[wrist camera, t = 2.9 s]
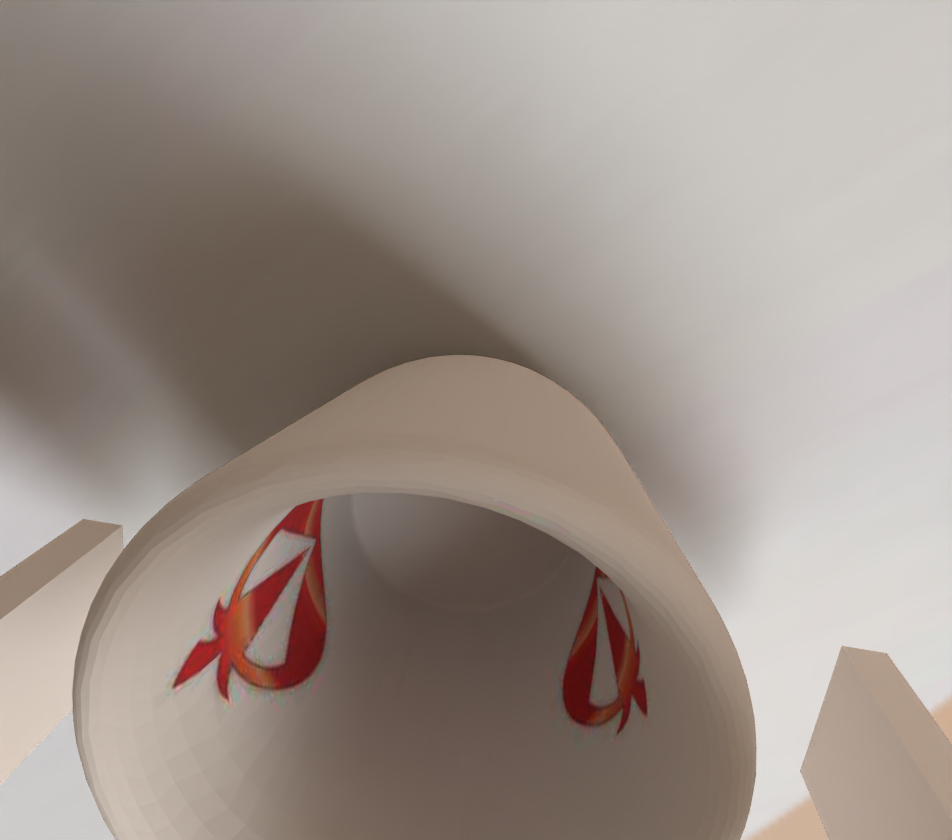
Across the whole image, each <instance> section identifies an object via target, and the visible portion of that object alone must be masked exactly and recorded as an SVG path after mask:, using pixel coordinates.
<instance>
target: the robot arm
mask: <svg viewBox="0 0 952 840" xmlns="http://www.w3.org/2000/svg"><path fill="white" fill-rule="evenodd" d="M122 551H123V526H122V525H116V524H110V523H104V522H98V521H92V520H86V519H83V520H81V521H80V522H78V523H77V524H75V525H74V526H73V527H71V528H70V529H68V530H67V531H65V532H64V533H62V534H61V535H60V536H58V537H57V538H55V539H54V540H52V541H51V542H49V543H48V544H47V545H45V546H44V547H42V548H41V549H39V550H38V551H36V552H35V553H33V554H32V555H31V556H29V557H28V558H26V559H25V560H23V561H22V562H20V563H19V564H18V565H16V566H15V567H13V568H12V569H10V570H9V571H7V572H6V573H5V574H3V575H2V576H0V785H1V784H2V783H3V782H4V781H5V780H6V779H7V778H8V777H9V776H10V775H11V773H12V772H13V771H14V770H15V769H16V768H17V767H18V766H19V765H20V764H21V763H22V762H23V761H24V760H25V758H26V757H27V756H28V755H29V754H30V753H31V752H32V751H33V750H34V749H35V748H36V747H37V746H38V745H39V744H40V742H41V741H42V740H43V739H44V738H45V737H46V736H47V735H48V734H49V733H50V732H51V731H52V730H53V729H54V728H55V726H56V725H57V724H58V723H59V722H60V721H61V720H62V719H63V718H64V717H65V716H66V715H67V714H68V713H69V712H70V710H71V709H72V708H73V701H72V689H73V678H74V666H75V658H76V654H77V649H78V645H79V641H80V636H81V632H82V629H83V626H84V623H85V620H86V618H87V615H88V612H89V609H90V606H91V603H92V601H93V599H94V597H95V595H96V594H97V592H98V590H99V588H100V586H101V584H102V582H103V580H104V578H105V576H106V574H107V573H108V571H109V570H110V568H111V567H112V565H113V564H114V562H115V561H116V559H117V558H118V557H119V555H120V554H121V552H122ZM800 772H801V774H802V776H803V779H804V781H805V784H806V786H807V788H808V791H809V793H810V795H811V798H812V800H813V802H814V805H815V807H816V810H817V812H818V814H819V816H820V819H821V821H822V824H823V826H824V828H825V831H826V833H827V836H828V838H829V840H952V744H951V742H950V741H949V739H948V738H947V737H946V735H945V734H944V732H943V731H942V730H941V728H940V727H939V726H938V724H937V723H936V721H935V720H934V718H933V717H932V716H931V714H930V713H929V712H928V710H927V709H926V707H925V706H924V705H923V703H922V702H921V700H920V699H919V698H918V696H917V695H916V693H915V692H914V691H913V689H912V688H911V686H910V685H909V684H908V682H907V681H906V680H905V678H904V677H903V675H902V674H901V673H900V671H899V670H898V668H897V667H896V666H895V664H894V663H893V661H892V660H891V659H890V657H889V656H888V654H887V653H881V652H875V651H869V650H863V649H857V648H851V647H845V646H842V647H841V650H840V653H839V656H838V659H837V662H836V665H835V668H834V671H833V674H832V677H831V680H830V683H829V686H828V689H827V692H826V695H825V698H824V701H823V704H822V707H821V710H820V713H819V716H818V719H817V722H816V725H815V728H814V731H813V734H812V737H811V740H810V743H809V746H808V749H807V752H806V755H805V758H804V761H803V764H802V767H801V770H800Z"/></svg>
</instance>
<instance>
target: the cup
mask: <svg viewBox="0 0 952 840" xmlns="http://www.w3.org/2000/svg"><path fill="white" fill-rule="evenodd" d="M72 701H73V721H74V728H75V736H76V743H77V747H78V751H79V755H80V759H81V762H82V766H83V770H84V773H85V777H86V780H87V783H88V785H89V787H90V790H91V792H92V794H93V796H94V799H95V801H96V803H97V806H98V808H99V810H100V813H101V815H102V817H103V820H104V821H105V823H106V825H107V826H108V828H109V829H110V831H111V833H112V834H113V836H114V838H115V839H116V840H740V838H741V836H742V833H743V831H744V828H745V825H746V822H747V818H748V814H749V811H750V806H751V801H752V796H753V790H754V783H755V777H756V733H755V720H754V714H753V708H752V702H751V698H750V693H749V689H748V684H747V680H746V677H745V674H744V671H743V668H742V665H741V662H740V659H739V656H738V653H737V650H736V648H735V646H734V644H733V641H732V639H731V637H730V635H729V632H728V630H727V628H726V626H725V624H724V622H723V620H722V618H721V616H720V614H719V612H718V611H717V609H716V607H715V605H714V604H713V602H712V600H711V599H710V597H709V595H708V594H707V592H706V590H705V589H704V587H703V585H702V584H701V582H700V580H699V579H698V577H697V576H696V574H695V572H694V571H693V569H692V567H691V566H690V564H689V562H688V561H687V559H686V557H685V556H684V554H683V553H682V551H681V549H680V548H679V546H678V544H677V543H676V541H675V539H674V538H673V536H672V534H671V533H670V531H669V530H668V528H667V526H666V525H665V523H664V521H663V520H662V518H661V516H660V515H659V513H658V511H657V510H656V508H655V507H654V505H653V503H652V502H651V500H650V498H649V497H648V495H647V493H646V492H645V490H644V489H643V487H642V485H641V484H640V482H639V480H638V479H637V477H636V475H635V474H634V472H633V470H632V469H631V467H630V466H629V464H628V462H627V461H626V459H625V457H624V456H623V454H622V452H621V451H620V449H619V448H618V446H617V445H616V443H615V442H614V440H613V439H612V438H611V436H610V435H609V433H608V432H607V430H606V429H605V428H604V426H603V425H602V424H601V423H600V422H599V420H598V419H597V418H596V417H595V416H594V414H593V413H592V412H591V411H590V410H589V409H588V408H587V407H586V406H585V405H584V404H582V403H581V402H580V401H579V400H578V399H577V398H575V397H574V396H573V395H572V394H571V393H570V392H568V391H567V390H565V389H564V388H562V387H561V386H559V385H558V384H557V383H555V382H554V381H552V380H550V379H548V378H546V377H544V376H543V375H541V374H539V373H537V372H535V371H533V370H531V369H528V368H525V367H523V366H520V365H517V364H515V363H511V362H507V361H504V360H500V359H496V358H490V357H484V356H476V355H446V356H435V357H428V358H424V359H419V360H415V361H411V362H407V363H404V364H401V365H398V366H395V367H393V368H390V369H387V370H385V371H383V372H381V373H379V374H377V375H375V376H373V377H371V378H369V379H367V380H365V381H363V382H361V383H359V384H358V385H356V386H354V387H353V388H351V389H349V390H348V391H346V392H344V393H343V394H341V395H339V396H338V397H336V398H334V399H333V400H331V401H329V402H328V403H326V404H324V405H323V406H321V407H319V408H318V409H316V410H314V411H313V412H311V413H309V414H308V415H306V416H304V417H303V418H301V419H300V420H298V421H296V422H295V423H293V424H291V425H290V426H288V427H286V428H285V429H283V430H281V431H280V432H278V433H276V434H275V435H273V436H271V437H270V438H268V439H266V440H265V441H263V442H261V443H260V444H258V445H256V446H255V447H253V448H251V449H250V450H248V451H246V452H245V453H243V454H241V455H240V456H238V457H236V458H235V459H233V460H231V461H230V462H228V463H226V464H225V465H223V466H221V467H220V468H218V469H216V470H215V471H213V472H211V473H210V474H208V475H207V476H205V477H203V478H202V479H200V480H199V481H197V482H196V483H194V484H193V485H191V486H190V487H188V488H187V489H186V490H184V491H183V492H182V493H180V494H179V495H178V496H177V497H175V498H174V499H173V500H171V501H170V502H169V503H168V504H166V505H165V506H164V507H163V508H162V509H161V510H160V511H159V512H158V513H157V514H156V515H155V516H154V517H152V518H151V519H150V520H149V521H148V522H147V523H146V524H145V525H144V526H143V527H142V528H141V529H140V530H139V532H138V533H137V534H136V535H135V536H134V538H133V539H132V540H131V541H130V542H129V544H128V545H127V546H126V547H125V549H124V550H123V551H122V552H121V554H120V555H119V557H118V558H117V559H116V561H115V562H114V564H113V565H112V567H111V568H110V570H109V571H108V573H107V574H106V576H105V578H104V580H103V582H102V584H101V586H100V588H99V590H98V592H97V594H96V595H95V597H94V599H93V601H92V603H91V606H90V609H89V612H88V615H87V618H86V620H85V623H84V626H83V629H82V632H81V636H80V641H79V645H78V649H77V654H76V658H75V666H74V678H73V689H72Z"/></svg>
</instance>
